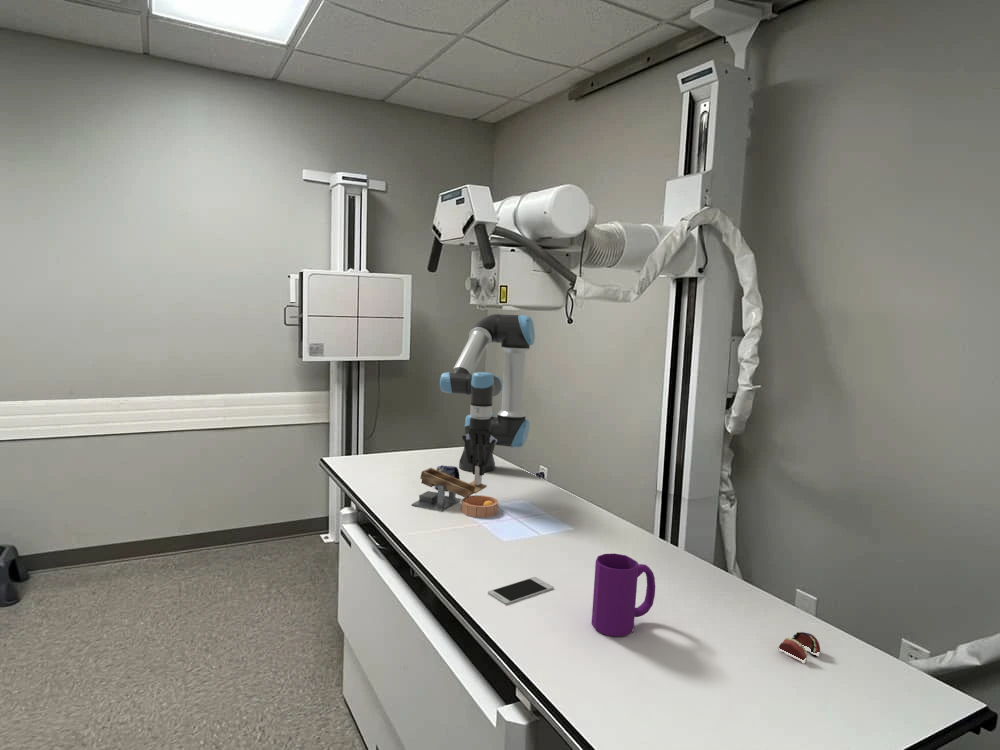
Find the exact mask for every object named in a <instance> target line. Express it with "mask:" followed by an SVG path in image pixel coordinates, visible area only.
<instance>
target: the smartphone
mask: <svg viewBox="0 0 1000 750" xmlns="http://www.w3.org/2000/svg"><path fill="white" fill-rule="evenodd" d="M554 588H555V587H554V586H553V585H551V584H550V583H547V582H545V581H544V580H542V579H541V578H539V577H537V576H532V577H530V578H527V579H524V580H519V581H516V582H514V583H510V584H507V585H504V586H500V587H498V588H494V589H492V590H488V591H487V594H488V595H489V596H491V597H492V598H494V599H495V600H497V601H498V602H500V603H501V604H503V605H505V606H507V605H511V604H513V603H514V604H515V603H517V602H520V601H522V600H525V599H529V598H532V597H534V596H537V595H538V596H539V595H541V594H543V593H546V592H549V591H551V590H554Z"/></svg>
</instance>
